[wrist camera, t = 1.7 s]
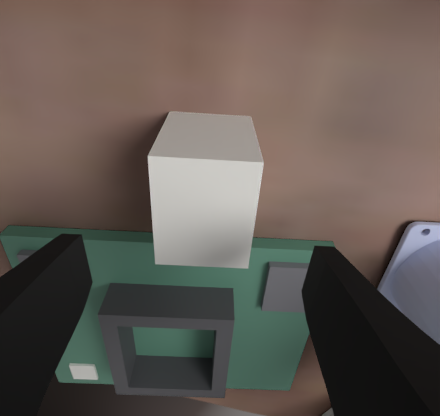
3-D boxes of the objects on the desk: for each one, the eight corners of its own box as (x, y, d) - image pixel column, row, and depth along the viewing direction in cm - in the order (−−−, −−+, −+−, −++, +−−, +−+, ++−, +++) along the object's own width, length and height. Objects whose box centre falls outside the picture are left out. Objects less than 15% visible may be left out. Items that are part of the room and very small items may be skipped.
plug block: (251, 116, 15) (263, 162, 11) (241, 204, 18) (247, 271, 14) (169, 111, 15) (147, 155, 11) (172, 200, 18) (155, 266, 13)
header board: (332, 241, 20) (352, 282, 17) (287, 379, 28) (295, 422, 25) (8, 225, 19) (-31, 265, 16) (64, 370, 28) (45, 414, 25)
